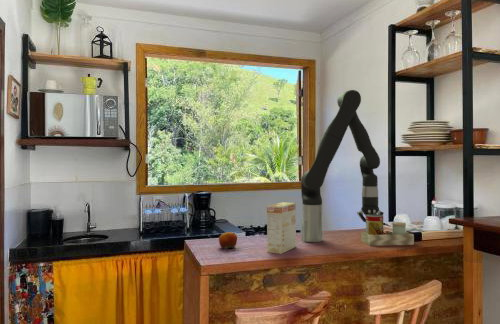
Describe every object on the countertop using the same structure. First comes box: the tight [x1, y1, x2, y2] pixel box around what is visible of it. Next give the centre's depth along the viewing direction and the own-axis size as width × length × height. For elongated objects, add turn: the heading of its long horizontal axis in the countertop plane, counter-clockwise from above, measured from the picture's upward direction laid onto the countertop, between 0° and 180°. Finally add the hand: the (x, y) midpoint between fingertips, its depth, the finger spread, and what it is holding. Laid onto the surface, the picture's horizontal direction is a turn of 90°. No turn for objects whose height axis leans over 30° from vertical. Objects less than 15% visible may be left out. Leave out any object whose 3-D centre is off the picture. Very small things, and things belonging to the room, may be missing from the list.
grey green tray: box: [361, 230, 415, 247], centre depth 169 cm, size 20×10×4 cm, turn 93°
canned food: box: [365, 214, 384, 235], centre depth 174 cm, size 8×8×12 cm
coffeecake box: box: [266, 201, 297, 255], centre depth 158 cm, size 15×7×20 cm, turn 149°
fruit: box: [218, 231, 238, 250], centre depth 161 cm, size 8×8×8 cm
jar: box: [392, 221, 407, 235], centre depth 170 cm, size 6×6×9 cm
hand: (370, 231), depth 179 cm, fingers closed
